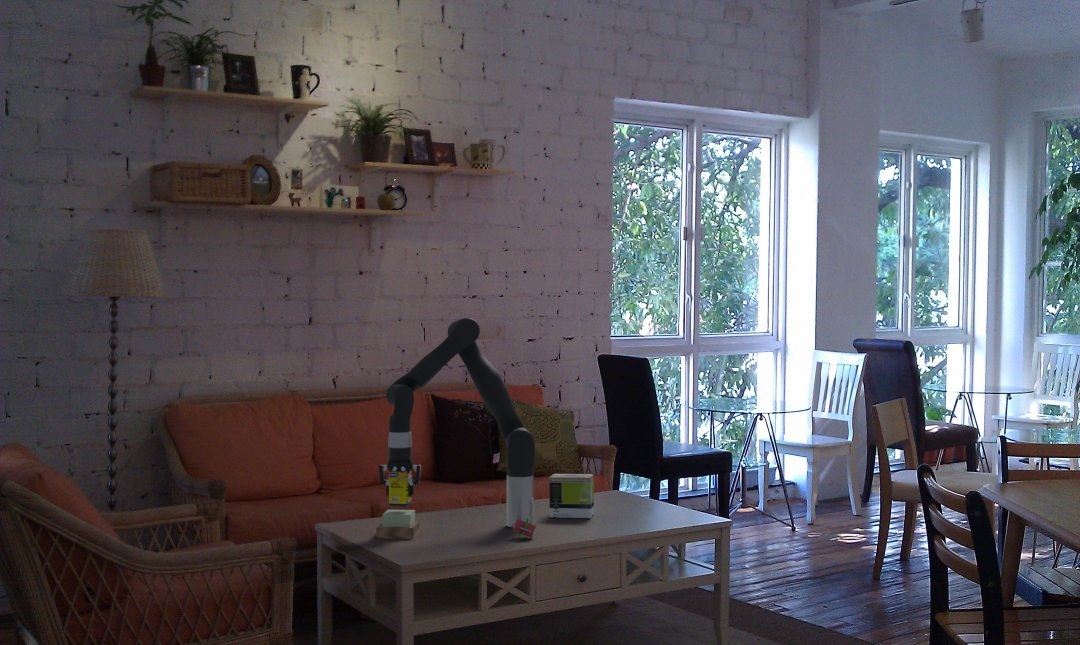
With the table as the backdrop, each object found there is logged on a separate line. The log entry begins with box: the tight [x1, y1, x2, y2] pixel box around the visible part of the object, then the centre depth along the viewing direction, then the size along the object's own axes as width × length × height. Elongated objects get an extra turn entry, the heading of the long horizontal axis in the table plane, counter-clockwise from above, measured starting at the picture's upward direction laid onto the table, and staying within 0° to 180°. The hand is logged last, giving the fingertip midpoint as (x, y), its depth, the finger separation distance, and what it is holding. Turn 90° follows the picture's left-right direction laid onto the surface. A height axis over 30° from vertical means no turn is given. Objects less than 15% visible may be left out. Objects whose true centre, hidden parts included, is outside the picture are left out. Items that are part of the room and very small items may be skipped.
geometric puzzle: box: [512, 518, 537, 540], centre depth 347 cm, size 7×7×8 cm
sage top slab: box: [381, 509, 416, 527], centre depth 353 cm, size 9×9×4 cm
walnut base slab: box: [375, 520, 421, 540], centre depth 353 cm, size 12×12×4 cm
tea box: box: [548, 473, 595, 519], centre depth 387 cm, size 15×10×15 cm
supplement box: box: [388, 470, 412, 507], centre depth 353 cm, size 6×6×11 cm
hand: (400, 496), depth 353 cm, fingers closed on supplement box, 6 cm apart
